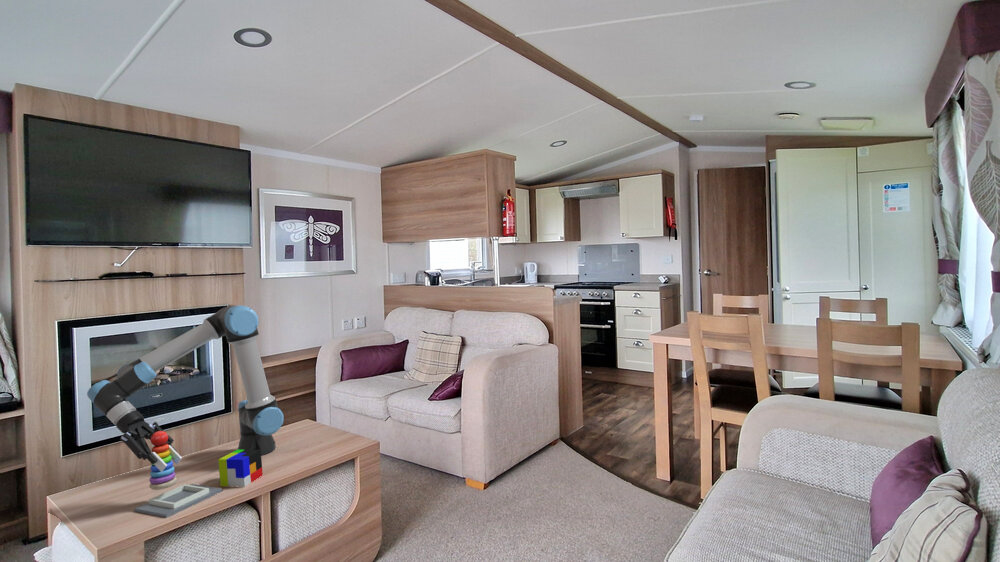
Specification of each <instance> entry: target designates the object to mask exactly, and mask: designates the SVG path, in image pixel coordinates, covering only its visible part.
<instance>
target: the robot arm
mask: <svg viewBox="0 0 1000 562" xmlns="http://www.w3.org/2000/svg"><path fill="white" fill-rule="evenodd" d="M259 324H260V323H259V316H258V314H257V312H256V311H255V310H254V309H252V308H251V307H248V306H247V305H227V306H225V307H222V308H221V309H220V310H218V311H217V312H215V313H213V314H211V315H210V316H208V317H207V318H204V319H203V321H202V323H201V324H199V325H197V326H196V327H193V328H191V329H190V330H188V331H186V332H184V333H182V334H181V335H179V336H177V337H175V338H174V339H172V340H170V341H168V342H166V343H165V344H163V345H161V346H159V347H157V348H155V349H154V350H152V351H150V352H149V353H146V354H145V355H142V356H141V357H139V358H138V359H135V360H133V361H132V362H130V363H126V364H124V365H122V366H120V368H118V370H117V373H116V377H117V378H116V379H114V380H112V381H109V380H107V379H103V380H100V381H99V382H96V383H94V384H93V385H91V386H90V387H89V389H88V390H87V393H86V396H87V398H89V400H90V401H91V402H92V403H93V405H94V406H95V407H96V408H97V409H99V411H100V412H101V413H102V414H103V415H105V417H106V418H107V419H108V420H110V421H111V423H113V425H115V427H116V428H117V429H118V430H119V432H121V433H122V436H121V437H120V438H119V441H120V442H123V444H125V445H126V446H127V448H129V449H130V451H131V452H132V453H133V455H135V456H136V457H137V459H138V460H144V461H146V459H147V461H149V462H150V464H151V463H152V464H154V465H155V466H156V467H157V468H158V469H159V470H160V471H161V472H162V471H163V470H164V469H165V468H166V466H167V464H166V463H165V462H164V461H163V460H162V459H161V458H160V457H159V456H158V455H157V454H156V453H155V452H152V449H151V448H150V447H149V445H148V443H147V440H149V441H151V436H152V435H153V434H154V433H155V432H158V431H164V430H163V428H161V427H160V425H159V424H158V422H156V421H154V422H153V423H148V422H146V421H145V417H144V415H143V414H142V413H140V411H138V410H137V408H136V407H135V406H134V405H133V403H131V402H130V401H129V400H128V398H129V397H130V396H132V395H133V394H135V393H136V392H138V391H139V390H141V389H143V387H145V386H147V385H148V384H150V383H151V382H152V381H153V380H154V379H156V377H157V373H156V372H158V371H160V370H161V369H163V368H165V367H167V366H168V365H171V364H172V363H174V362H175V361H177V360H179V359H181V358H183V357H185V356H186V355H188V354H190V353H191V352H192V351H193V352H194V350H196V349H198V348H200V347H201V346H204V345H205V344H207V343H209V342H211V341H212V340H219V339H220V338H223V337H226V341H227V343H228V344H230V345H232V347H233V350H234V354H235V357H236V361H237V364H238V365H237V366H238V369H239V373H240V376H241V381H242V384H243V388H244V392H245V396H246V399H244V400H241V401H240V402H238V404H237V406H238V407H237V411H238V420H239V422H238V423H239V431H240V432H239V433H240V438H239V442H238V447H237V449H236V450H261V456H264V455H267V454H270V453H271V452H274V451H275V450H276V449H275V448H277V446H276V445H277V444H276V441H275V439H274V437H273V434H276V433H277V432H279V430H280V429H281V428H282V426H283V424H284V418H285V417H284V413H283V411H282V410H281V409H280V408H279V407H278V403H277V399H276V396H274V395H272V394H271V392H270V387H269V384H268V381H267V378H266V377H267V376H266V373H265V368H264V365H263V362H262V358H261V354H260V350H259V345H258V342H257V338H258V337H259V335H260V333H259V330H258V326H259ZM174 441H175V440H174V439H173V438H172V437H171V436H170V435H169V434H168V441H167V442H166V443H165V444H168V445H169V449H168V450H169V451H170V455H171V457H172V459H171V461H173V463H175V464H176V465H177V464H179V463H180V461H181V460H182V459H183V457H182V455H180V454H179V452H178V451H177V450H176V449H175V447H173V445H172V444H173V443H174ZM273 450H274V451H273ZM152 464H151V465H152Z"/></svg>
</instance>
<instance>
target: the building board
mask: <svg viewBox="0 0 1000 562" xmlns="http://www.w3.org/2000/svg"><path fill="white" fill-rule="evenodd" d="M222 492H223V488H220V487H215V486H207V485H203V484H202V485H201V484H197V483H195V484H194V483H190V484H185V483H183V484H182V485H180V486H178V487H175V488H173V489H170V490H169V491H166V492H164V493H161V494H159V495H157V496H154V497H152V498H149V499H148V502H147V503H143V504H142V505H139V506H137V507H135V508H134V512H137V513H141V514H146V515H151V516H156V517H157V516H158V517H160V518H166V519H168V518H169V517H171V516H173V515H175V514H178V513H179V512H182V511H185V510H186V509H188V508H190V507H192V505H193V506H194V505H196V504H199V503H201V502H202V501H205V500H207V499H210V498H212V497H214V496H215V494H216V495H217V493H218V494H219V493H222ZM213 495H214V496H213ZM211 496H212V497H211Z"/></svg>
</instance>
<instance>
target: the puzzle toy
mask: <svg viewBox="0 0 1000 562" xmlns="http://www.w3.org/2000/svg"><path fill="white" fill-rule="evenodd" d="M217 462H218V470H219V471H218V472H219V483H220V487H221V486H235V487H234V488H245V486H246V485H247V486H249V485H250V484H252V483H253V482H252V481H254V480H255V481H257V480H258V479H260V478H261V477H260V476H262V475H264V473H263V463H262V455H261V450H237V449H236V450H234V451H232V452H230V453H228V454H226V455H224V456H222V457H220V458H218V461H217ZM259 477H260V478H259ZM262 477H263V476H262ZM257 478H258V479H257ZM256 479H257V480H256ZM255 481H254V482H255ZM251 482H252V483H251ZM249 483H250V484H249ZM248 484H249V485H248ZM236 486H238V487H236ZM242 486H243V487H242ZM247 486H246V487H247Z"/></svg>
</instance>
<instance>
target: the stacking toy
mask: <svg viewBox="0 0 1000 562" xmlns="http://www.w3.org/2000/svg"><path fill="white" fill-rule="evenodd" d="M168 435H169V434H168V433H167V432H166V431H165V430H163V431H158V432H155V433H154V434H153V435H152V436H151V440H150V444H151V445H153V447H152V448H151V453H153V452H155V453H156V454H157V455H158V456H159V457H160V458H161V459H162V460H163V461H164V462H165V463H166V464H167V466H166V468H165V469H164V470H163V471H162V472H161V471H160V470H159V469H158V468H157V467H156V466H155V465H154V464H152V463H151V462H150V464H151V465H150V474H149V475H150V478H149V480H148V481H149V489H151V490H153V491H160V490H164V489H168V488H169V487H173V486H174V485H175V484H176V483H177V481H178V478H177V477H176V472H175V467H174V466H173V465H174V461H173V460H172V457H171V455H170V451H169V450H168V449H169V445H168V444H165V443H166V442H167V441H168Z"/></svg>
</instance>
